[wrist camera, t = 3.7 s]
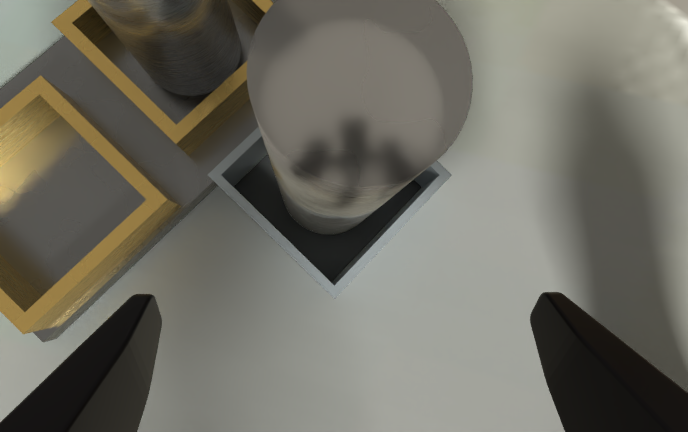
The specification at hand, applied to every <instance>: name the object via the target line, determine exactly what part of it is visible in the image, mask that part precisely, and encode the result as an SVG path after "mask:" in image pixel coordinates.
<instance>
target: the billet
mask: <svg viewBox="0 0 688 432" xmlns="http://www.w3.org/2000/svg"><path fill="white" fill-rule="evenodd" d="M472 81H473V76H472V68H471V61H470V58H469V54H468V50H467V47H466V45H465V42H464V40H463V37H462V35H461V33H460V31H459V30H458V28H457V26H456V24H455V23H454V21H453V20H452V19H451V17H450V16H449V14H448V13H447V12H446V11H445V10H444V9H443V8H442V7H441V5H440V4H439V3H438V2H437V1H436V0H277V1H276V2H275V3H274V4H273V5H272V6H271V7H270V8H269V10H268V11H267V12H266V14H265V15H264V16H263V18H262V20H261V21H260V23H259V25H258V27H257V29H256V31H255V33H254V36H253V39H252V41H251V44H250V49H249V54H248V59H247V87H248V92H249V97H250V101H251V104H252V107H253V111H254V114H255V117H256V120H257V123H258V126H259V129H260V132H261V135H262V138H263V141H264V144H265V147H266V150H267V153H268V156H269V159H270V162H271V165H272V168H273V171H274V174H275V177H276V180H277V183H278V186H279V189H280V192H281V195H282V198H283V201H284V204H285V206H286V208H287V210H288V212H289V214H290V215H291V216H292V218H293V219H294V220H295V221H296V222H297V223H299V224H300V225H301V226H303V227H304V228H306V229H308V230H310V231H312V232H315V233H319V234H327V235H332V234H339V233H343V232H346V231H348V230H350V229H352V228H354V227H356V226H357V225H358V224H360V223H361V222H362V221H363V220H365V219H366V218H367V217H368V216H369V215H371V214H372V213H373V212H374V211H376V210H377V209H378V208H379V207H380V206H382V205H383V204H384V203H385V202H387V201H388V200H389V199H390V198H391V197H393V196H394V195H395V194H396V193H398V192H399V191H400V190H401V189H402V188H404V187H405V186H406V185H407V184H409V183H410V182H411V181H412V180H414V179H415V178H416V177H417V176H418V175H420V174H421V173H422V172H423V171H425V170H426V169H427V168H428V167H429V166H431V165H432V164H433V163H434V162H435V161H436V160H438V159H439V158H440V157H441V156H442V155H443V154H444V153H445V152H446V151H447V150H448V148H449V147H450V146H451V145H452V144H453V142H454V141H455V139H456V137H457V136H458V134H459V133H460V131H461V129H462V127H463V125H464V122H465V120H466V118H467V114H468V111H469V107H470V104H471V97H472Z"/></svg>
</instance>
